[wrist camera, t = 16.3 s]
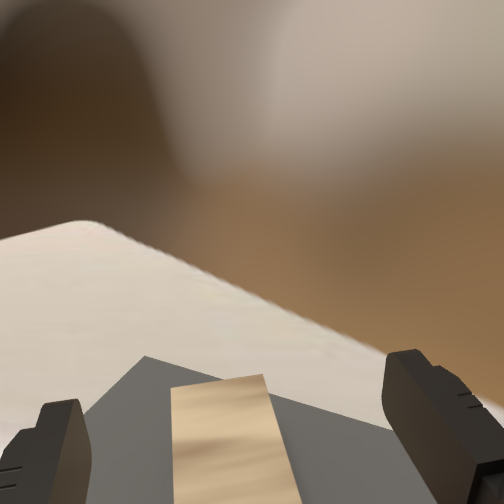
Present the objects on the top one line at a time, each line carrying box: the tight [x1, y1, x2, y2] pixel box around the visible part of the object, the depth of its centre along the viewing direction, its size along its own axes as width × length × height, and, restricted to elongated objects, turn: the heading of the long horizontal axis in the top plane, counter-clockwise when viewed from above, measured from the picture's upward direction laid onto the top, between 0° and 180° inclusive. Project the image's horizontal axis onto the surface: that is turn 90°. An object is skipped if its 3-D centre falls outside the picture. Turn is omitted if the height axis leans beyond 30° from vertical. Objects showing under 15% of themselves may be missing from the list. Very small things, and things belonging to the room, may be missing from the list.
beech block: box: [171, 374, 302, 504], centre depth 21 cm, size 4×5×9 cm
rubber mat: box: [83, 356, 437, 504], centre depth 23 cm, size 22×14×1 cm, turn 65°
